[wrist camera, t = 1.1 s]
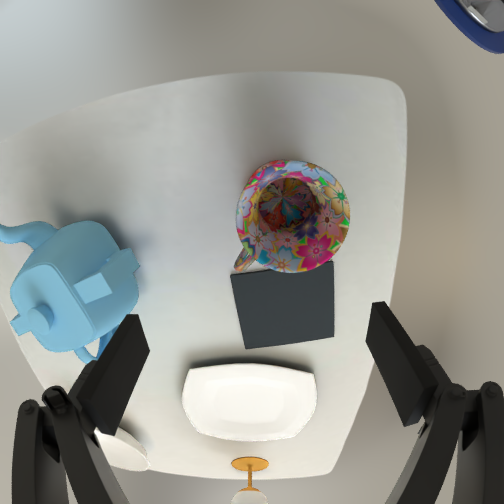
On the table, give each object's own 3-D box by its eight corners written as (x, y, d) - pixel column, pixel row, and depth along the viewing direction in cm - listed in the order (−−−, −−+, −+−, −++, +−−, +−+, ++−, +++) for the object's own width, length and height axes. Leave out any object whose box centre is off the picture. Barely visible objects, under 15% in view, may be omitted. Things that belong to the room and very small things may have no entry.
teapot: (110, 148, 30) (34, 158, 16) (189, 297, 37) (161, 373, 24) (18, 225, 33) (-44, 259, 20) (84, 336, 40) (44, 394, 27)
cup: (264, 471, 56) (266, 522, 41) (229, 469, 56) (226, 521, 41) (272, 457, 53) (274, 515, 38) (233, 455, 53) (230, 513, 38)
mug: (279, 139, 30) (291, 136, 20) (337, 194, 32) (371, 217, 22) (209, 216, 33) (191, 248, 23) (268, 265, 35) (273, 312, 25)
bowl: (66, 401, 48) (55, 419, 42) (134, 411, 47) (125, 434, 41) (104, 446, 55) (97, 463, 49) (167, 455, 54) (163, 475, 48)
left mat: (332, 260, 35) (333, 261, 35) (333, 335, 39) (334, 336, 39) (230, 274, 36) (230, 276, 35) (245, 347, 40) (245, 349, 40)
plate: (327, 355, 41) (330, 364, 39) (302, 434, 49) (303, 441, 47) (176, 349, 40) (173, 357, 39) (190, 429, 49) (188, 437, 47)
